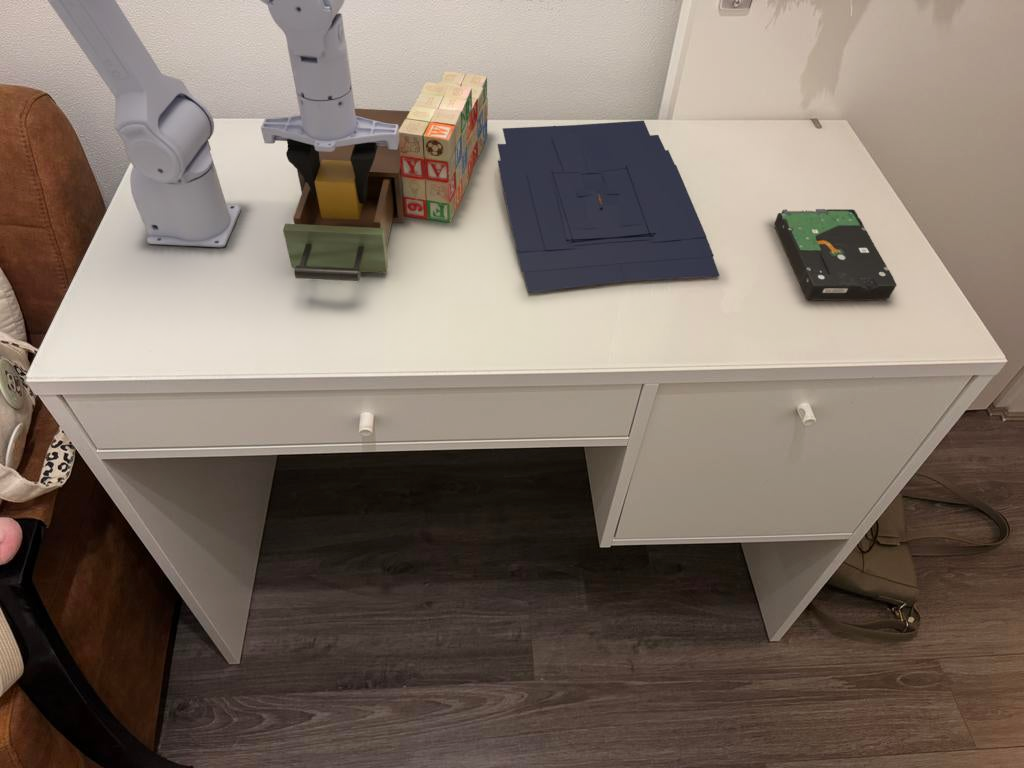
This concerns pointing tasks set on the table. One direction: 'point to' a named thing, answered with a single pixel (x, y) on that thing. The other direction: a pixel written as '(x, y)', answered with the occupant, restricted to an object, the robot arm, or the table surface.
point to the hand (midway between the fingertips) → (341, 197)
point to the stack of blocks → (442, 144)
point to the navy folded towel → (599, 207)
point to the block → (337, 190)
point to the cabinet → (376, 156)
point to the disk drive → (834, 255)
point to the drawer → (342, 236)
